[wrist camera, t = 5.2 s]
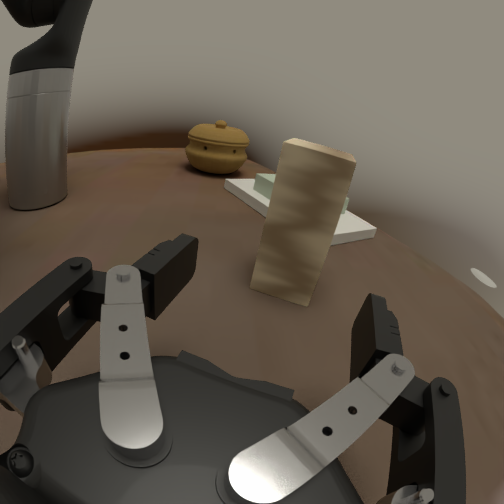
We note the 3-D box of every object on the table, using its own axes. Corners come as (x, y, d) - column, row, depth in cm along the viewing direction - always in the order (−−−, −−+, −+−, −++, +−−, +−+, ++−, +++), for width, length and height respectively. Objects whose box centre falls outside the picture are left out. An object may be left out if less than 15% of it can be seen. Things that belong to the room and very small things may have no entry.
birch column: (249, 288, 24) (283, 141, 18) (264, 261, 28) (294, 137, 22) (307, 307, 23) (356, 162, 17) (313, 276, 27) (352, 154, 22)
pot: (183, 161, 57) (189, 114, 53) (237, 166, 61) (246, 122, 56) (182, 176, 48) (190, 119, 43) (248, 183, 51) (259, 129, 46)
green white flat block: (224, 187, 46) (228, 164, 44) (289, 187, 54) (294, 167, 52) (309, 249, 32) (319, 217, 30) (373, 237, 40) (382, 212, 38)
